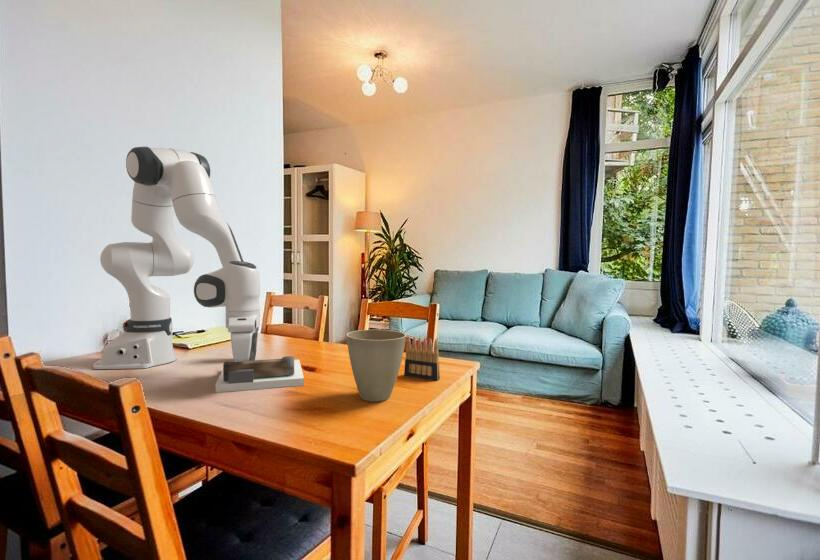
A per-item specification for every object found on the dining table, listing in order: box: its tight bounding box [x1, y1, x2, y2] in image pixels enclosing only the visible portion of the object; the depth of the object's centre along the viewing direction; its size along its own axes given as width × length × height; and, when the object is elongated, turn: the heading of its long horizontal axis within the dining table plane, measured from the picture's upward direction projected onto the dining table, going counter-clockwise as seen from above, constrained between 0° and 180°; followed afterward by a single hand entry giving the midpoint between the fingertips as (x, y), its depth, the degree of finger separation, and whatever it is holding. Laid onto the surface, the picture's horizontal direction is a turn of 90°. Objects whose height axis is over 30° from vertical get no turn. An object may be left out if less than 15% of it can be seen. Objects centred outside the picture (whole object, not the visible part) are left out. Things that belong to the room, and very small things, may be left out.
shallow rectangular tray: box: [215, 359, 305, 393], centre depth 121 cm, size 22×22×5 cm
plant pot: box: [346, 329, 407, 403], centre depth 105 cm, size 15×15×16 cm
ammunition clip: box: [403, 335, 441, 382], centre depth 123 cm, size 11×2×12 cm, turn 64°
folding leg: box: [222, 355, 295, 381], centre depth 114 cm, size 18×3×5 cm, turn 110°
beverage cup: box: [248, 326, 260, 361], centre depth 141 cm, size 7×7×20 cm
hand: (243, 370), depth 116 cm, fingers closed
